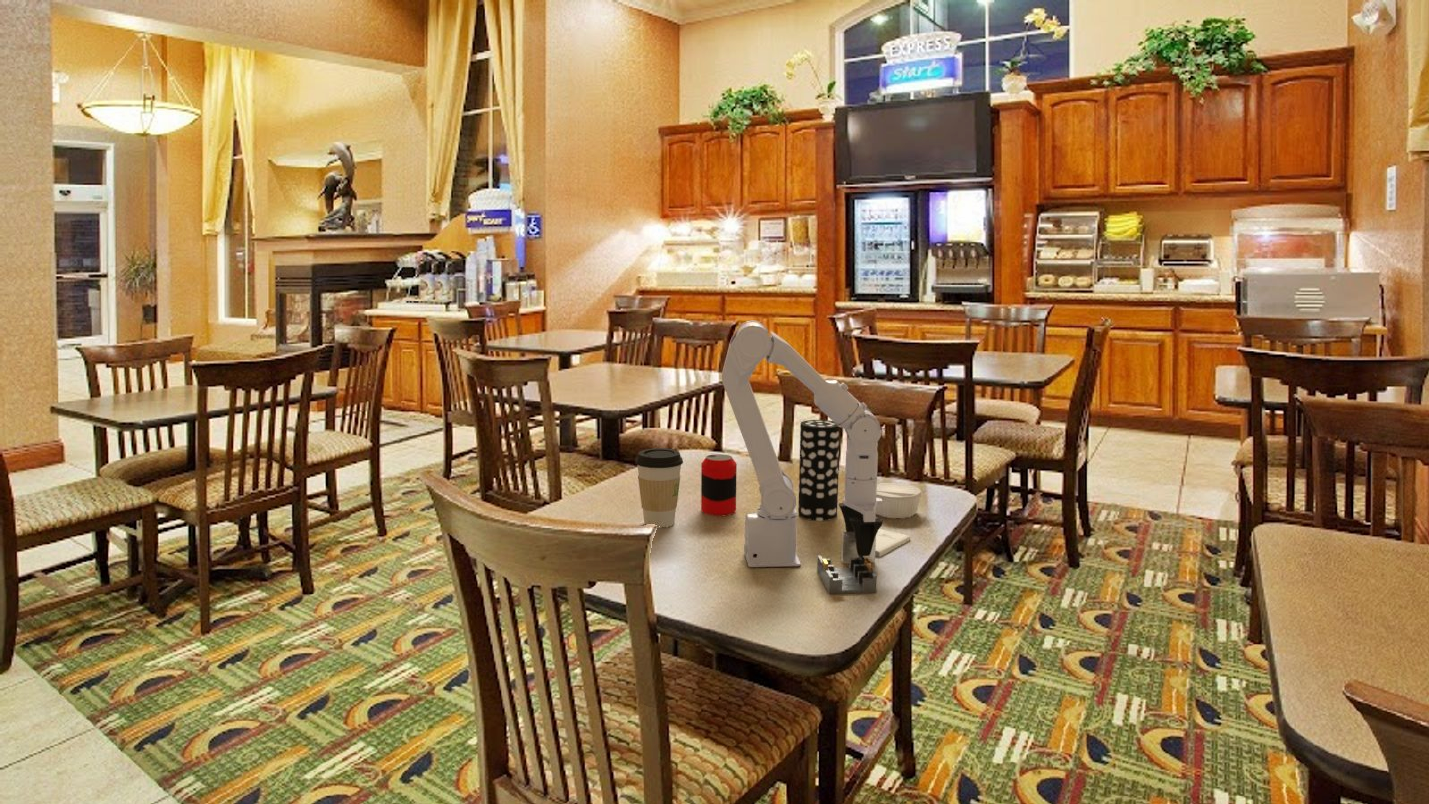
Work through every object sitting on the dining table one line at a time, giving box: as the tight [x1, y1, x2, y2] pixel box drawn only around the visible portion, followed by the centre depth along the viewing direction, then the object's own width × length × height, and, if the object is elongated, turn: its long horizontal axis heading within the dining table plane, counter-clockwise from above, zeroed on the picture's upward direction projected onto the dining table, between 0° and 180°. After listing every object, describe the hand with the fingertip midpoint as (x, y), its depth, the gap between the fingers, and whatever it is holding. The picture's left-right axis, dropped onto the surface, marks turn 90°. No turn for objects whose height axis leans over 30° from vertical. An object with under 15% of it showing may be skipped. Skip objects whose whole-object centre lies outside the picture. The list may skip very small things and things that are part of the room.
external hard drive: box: [875, 528, 911, 558], centre depth 178 cm, size 2×8×12 cm
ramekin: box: [875, 482, 922, 519], centre depth 198 cm, size 11×11×5 cm
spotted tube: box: [797, 419, 841, 522], centre depth 194 cm, size 8×8×20 cm
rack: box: [816, 554, 878, 595], centre depth 158 cm, size 8×10×4 cm
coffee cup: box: [634, 447, 684, 528], centre depth 188 cm, size 10×10×15 cm
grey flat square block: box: [840, 531, 876, 564], centre depth 168 cm, size 6×2×6 cm, turn 95°
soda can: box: [700, 453, 738, 517], centre depth 197 cm, size 8×8×12 cm
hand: (858, 548), depth 168 cm, fingers open, 7 cm apart
